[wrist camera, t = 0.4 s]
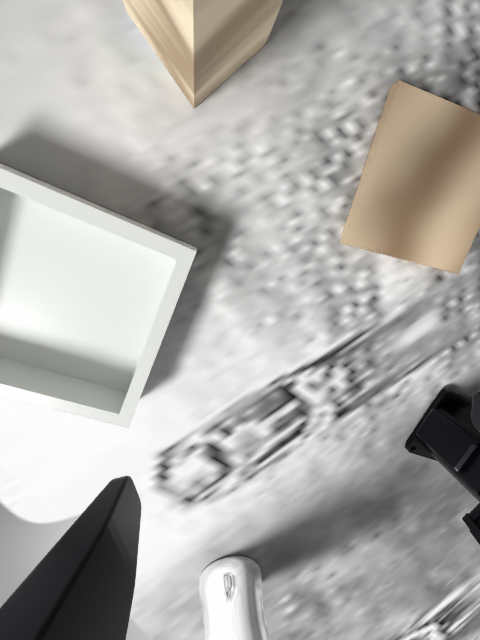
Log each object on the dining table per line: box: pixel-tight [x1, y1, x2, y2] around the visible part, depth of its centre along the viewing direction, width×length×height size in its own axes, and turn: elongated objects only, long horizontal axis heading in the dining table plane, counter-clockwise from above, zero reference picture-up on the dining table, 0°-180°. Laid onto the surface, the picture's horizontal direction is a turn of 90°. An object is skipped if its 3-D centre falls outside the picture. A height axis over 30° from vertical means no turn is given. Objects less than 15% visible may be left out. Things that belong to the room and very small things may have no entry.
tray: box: [0, 163, 197, 428], centre depth 17 cm, size 12×12×3 cm
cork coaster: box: [339, 81, 480, 273], centre depth 19 cm, size 9×9×1 cm
